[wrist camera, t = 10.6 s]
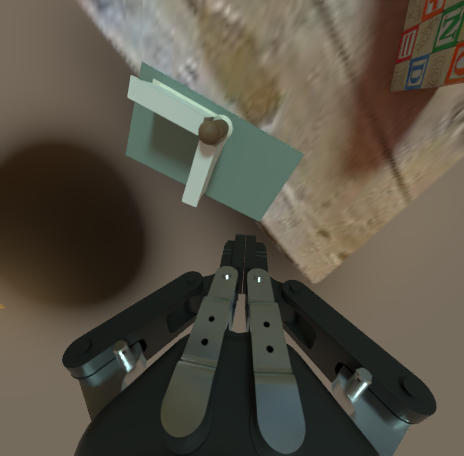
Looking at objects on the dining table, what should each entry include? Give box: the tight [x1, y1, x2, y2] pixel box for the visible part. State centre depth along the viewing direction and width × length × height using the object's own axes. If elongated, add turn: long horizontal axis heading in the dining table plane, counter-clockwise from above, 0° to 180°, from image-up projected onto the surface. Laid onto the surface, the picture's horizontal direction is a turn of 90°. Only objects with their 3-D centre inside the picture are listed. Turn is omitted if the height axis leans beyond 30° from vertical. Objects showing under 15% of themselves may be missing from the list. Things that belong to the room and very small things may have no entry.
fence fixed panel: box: [128, 76, 215, 135], centre depth 26 cm, size 9×2×7 cm, turn 64°
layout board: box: [126, 62, 304, 221], centre depth 33 cm, size 27×14×1 cm, turn 64°
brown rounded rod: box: [198, 119, 229, 145], centre depth 26 cm, size 3×3×10 cm
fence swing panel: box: [182, 139, 223, 207], centre depth 30 cm, size 9×2×7 cm, turn 158°
